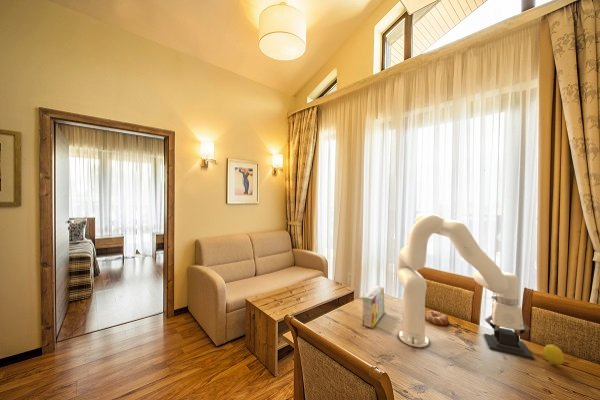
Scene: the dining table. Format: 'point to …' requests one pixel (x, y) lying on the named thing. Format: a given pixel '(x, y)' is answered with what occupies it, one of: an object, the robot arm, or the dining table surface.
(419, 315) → the robot arm
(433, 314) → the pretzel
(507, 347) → the base pad
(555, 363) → the lemon
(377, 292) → the snack box
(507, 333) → the black block
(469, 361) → the dining table surface
